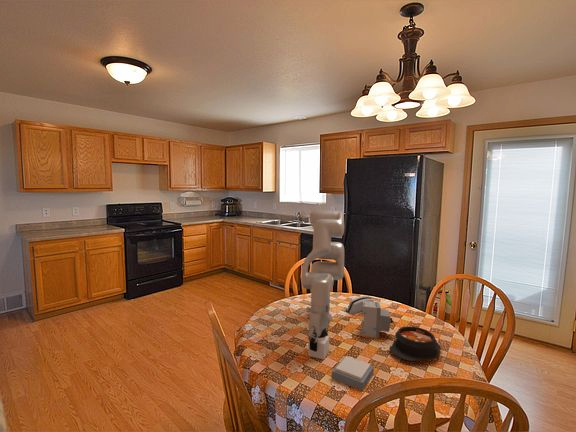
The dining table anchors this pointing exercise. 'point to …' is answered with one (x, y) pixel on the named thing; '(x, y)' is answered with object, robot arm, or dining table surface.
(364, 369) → the stand
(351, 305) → the grey curved block
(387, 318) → the circuit breaker
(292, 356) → the dining table surface
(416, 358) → the casserole
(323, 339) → the medicine bottle
